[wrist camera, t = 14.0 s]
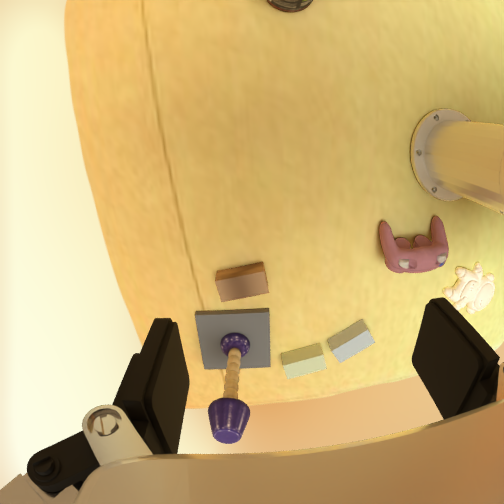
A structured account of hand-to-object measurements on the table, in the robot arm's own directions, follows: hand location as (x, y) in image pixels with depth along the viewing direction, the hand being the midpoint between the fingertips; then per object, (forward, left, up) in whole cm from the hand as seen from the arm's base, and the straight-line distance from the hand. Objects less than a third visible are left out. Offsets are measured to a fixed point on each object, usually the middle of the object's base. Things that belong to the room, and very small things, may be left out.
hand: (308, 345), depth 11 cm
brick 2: (-5, +25, -28) cm, 38 cm away
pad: (+5, +21, -28) cm, 36 cm away
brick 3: (-12, +22, -28) cm, 38 cm away
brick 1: (+3, +11, -28) cm, 31 cm away
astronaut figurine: (-34, +16, -29) cm, 47 cm away
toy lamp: (+5, +21, -28) cm, 35 cm away
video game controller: (-19, +7, -29) cm, 35 cm away
